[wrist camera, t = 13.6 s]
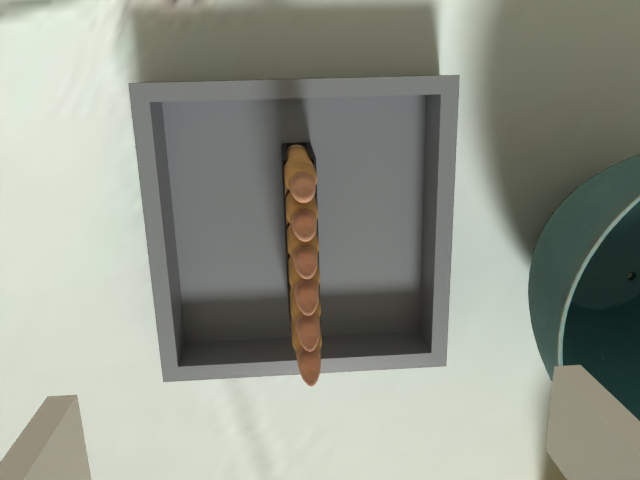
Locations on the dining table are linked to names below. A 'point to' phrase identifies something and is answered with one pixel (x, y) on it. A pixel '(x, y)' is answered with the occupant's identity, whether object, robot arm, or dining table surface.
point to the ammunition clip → (302, 255)
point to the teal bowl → (592, 283)
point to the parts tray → (269, 229)
